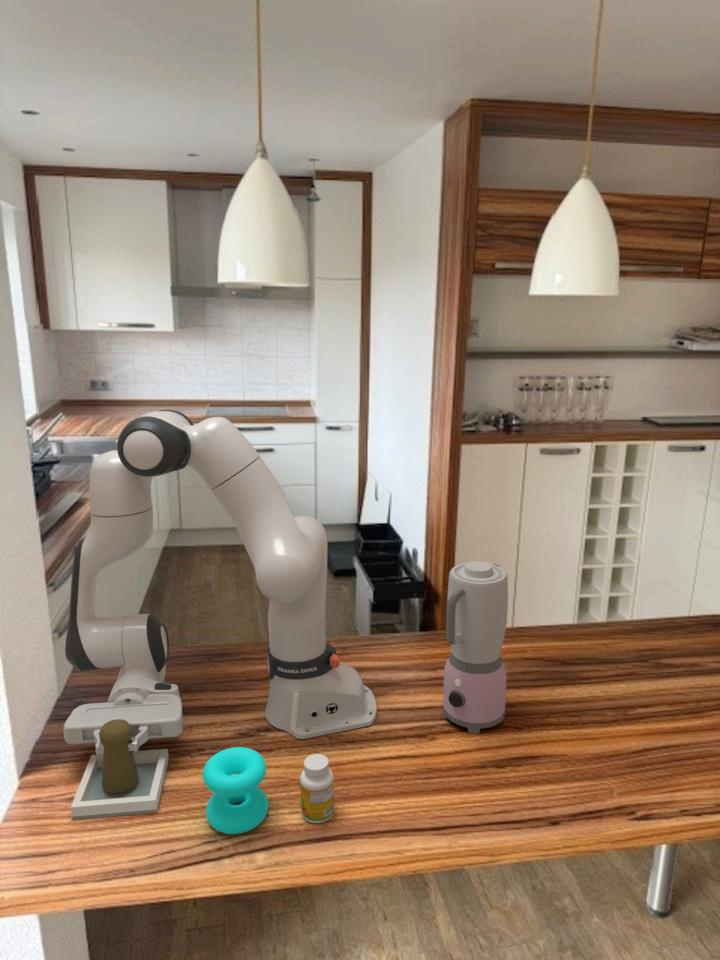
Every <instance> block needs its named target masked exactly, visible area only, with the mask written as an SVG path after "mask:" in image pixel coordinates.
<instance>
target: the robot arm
mask: <svg viewBox="0 0 720 960" xmlns="http://www.w3.org/2000/svg"><path fill="white" fill-rule="evenodd" d="M116 445H117V446H116V450H109V451H106V452H103V453H101V454H100V455H98V456H97V457H96V458H94V460H93V462H92V463H91V465H90V473H89V484H88V485H89V488H88V491H89V492H88V493H89V494H88V495H89V511H90V524H89V525H90V526H89V529H88V531H87V534H86V536H85V537H83V538H81V539H80V540H78V541H77V544H76V548H75V550H74V555H73V562H72V572H71V583H70V598H69V599H70V600H69V610H68V611H69V612H68V623H67V624H68V625H67V630H66V636H65V642H64V653H65V659H66V661H67V662H68V663H69V664H70V665H72V667H74V668H75V669H77V670H79V671H80V672H83V673H85V672H90V671H96V670H101V669H103V668H104V669H106V668H118V667H120V670H119V672H118V674H117V679H116V681H115V683H114V684H113V687H112V688H111V691H110V694H109V696H108V699H107V702H93V703H84V704H81V705H79V706H77V707H76V708H74V709H73V710H72V711H71V714H70V715H69V716H68V718H67V719H66V721H65V722H64V724H63V738H64V740H65V742H66V743H67V744H68V745H78V744H79V745H81V744H90V743H92V744H93V743H94V745H95V754H104V745H103V744H102V743H101V741H100V737H99V733H100V730H101V728H102V726H103V725H104V724H105V723H107V722H109V721H111V720H115V719H122V720H126V721H127V722H128V723H129V724H130V725H131V728H132V735H131V738H130V740H129V742H128V748H129V749H128V751H129V752H137V751H139V749H140V747H141V746H142V745H144V744H145V743H146V742H147V741H148V740H149V739H161V738H177V737H178V736H180V735H181V734H183V732H184V731H183V730H184V715H183V713H184V712H183V706H182V705H183V704H182V700H181V696H180V695H181V694H180V689H179V686H178V685H177V684H174V683H167V682H165V677H166V671H167V669H166V667H167V666H166V663H167V662H168V659H169V650H170V649H169V648H170V645H169V644H170V642H169V634H168V631H167V628H166V625H165V624H164V623H163V622H162V620H160V619H159V617H157V616H156V615H155V614H153V613H137V614H136V613H135V614H127V615H116V616H113V615H112V616H98V615H97V614H96V613H95V604H96V602H95V601H96V591H97V590H96V588H97V577H98V574H99V573H100V572H101V571H102V570H104V569H105V568H107V567H109V566H111V565H113V564H116V563H118V562H120V561H123V560H124V559H128V558H130V557H131V556H133V555H134V554H136V553H137V552H138V551H140V550H141V549H143V548H144V547H145V546H146V545H147V543H148V542H149V540H150V539H151V537H152V535H153V532H154V511H153V510H154V509H153V501H152V481H153V478H154V477H160V476H163V475H166V474H169V473H173V472H176V471H181V470H183V469H185V468H186V467H187V468H188V467H189V468H191V469H193V470H194V471H195V472H196V473H197V474H198V475H199V476H200V477H201V479H202V481H204V483H205V485H206V486H207V487H208V489H209V490H210V491H211V493H212V494H213V496H214V497H215V498H216V499H217V501H218V503H219V504H220V505H221V506H222V508H223V509H224V511H225V513H226V514H227V516H228V517H229V518H230V520H231V522H232V523H233V525H234V527H235V528H236V530H237V532H238V534H239V536H240V539H241V541H242V543H243V545H244V548H245V550H246V552H247V554H248V556H249V559H250V562H251V563H252V565H253V569H254V573H255V578H256V583H257V587H258V589H259V590H260V591H261V594H263V595H264V596H265V597H266V598H267V599H269V603H268V610H267V617H268V618H267V621H268V640H269V647H268V649H267V655H266V656H267V659H266V660H267V673H268V675H269V676H268V677H269V689H268V690H269V691H268V697H267V702H266V707H265V710H264V716H265V719H266V720H267V722H268V723H269V724H270V725H271V726H272V727H275V728H277V729H279V730H282V731H284V732H287V733H289V734H290V735H292V736H293V737H294V738H296V739H299V740H305V739H310V738H315V737H316V738H317V737H319V736H325V735H330V734H336V733H339V732H345V731H350V730H354V729H359V728H365V727H370V726H371V725H373V724H374V722H375V721H376V719H377V715H378V708H377V701H376V698H375V695H374V694H373V691H372V690H371V689H370V688H369V687H368V686H367V685H364V682H363V679H362V677H361V675H360V674H359V672H358V671H357V670H356V668H353V667H352V666H350V665H348V664H346V663H344V662H343V661H341V659H340V656H339V655H337V648H336V647H335V644H334V642H333V641H332V640H331V641H330V643H328V642H327V639H326V636H327V635H326V599H327V597H326V596H327V583H328V582H327V580H328V579H327V578H328V535H327V532H326V529H325V527H324V525H323V524H322V523H321V522H320V521H319V520H318V519H317V518H315V517H313V516H310V515H305V514H304V515H303V514H302V515H301V514H299V515H295V516H294V515H293V513H292V511H291V508H290V506H289V504H288V501H287V498H286V493H285V491H284V490H285V489H283V487H282V486H281V484H280V483H279V481H278V480H277V478H276V477H275V475H274V474H273V473H272V471H271V470H270V468H269V467H268V465H267V464H266V463H265V461H264V459H263V458H262V457H261V456H260V454H259V453H258V451H257V450H256V449H255V447H254V446H253V445H252V443H251V442H250V441H249V440H248V438H247V437H246V436H245V435H244V434H243V433H242V432H241V431H240V430H239V429H238V428H237V427H236V426H235V424H233V423H232V422H231V421H230V420H229V419H227V418H225V417H223V416H213V417H208V418H205V419H203V420H201V421H200V422H198V423H196V424H194V423H193V421H192V420H191V418H189V417H188V416H187V415H186V414H184V413H183V412H180V411H178V410H174V409H160V410H157V411H150V412H147V413H144V414H142V415H140V416H138V417H137V418H134V419H133V420H130V421H129V422H128V423H127V424H126V425H125V426H124V427H123V428H122V430H121V432H120V434H119V435H118V438H117V444H116Z"/></svg>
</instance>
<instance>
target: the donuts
mask: <svg viewBox="0 0 720 960" xmlns="http://www.w3.org/2000/svg"><path fill="white" fill-rule="evenodd" d="M266 774H267V763H266V761H265V759H264V757H263V756H262V755H261V753H259V752H258V751H256V750H254V749H252V748H248V747H244V746H238V747H237V746H235V747H230V748H225V749H223V750H219V751H218V752H217V753H215V754H214V755H211V757H210V758H209V759H208V760H207V761H206V763H205V765H204V767H203V771H202V778H203V782H204V784H205V786H206V788H207V789H208V790H210V792H212V793H213V794H212V796H211V797H210V798H209V800H208V801H207V805H206V810H205V812H206V814H205V816H206V819H207V822H208V824H209V825H210V826H211V827H212V828H213V829H214V830H216V831H217V832H219V833H223V834H226V835H227V834H228V835H239V834H242V833H243V834H244V833H247V832H249V831H251V830H253V829H255V828H256V827H258V826H259V825H260V824H261V823H263V820H265V818H266V816H267V813H268V811H269V799H268V797H267V795H266V793H265V792H264V791H263V789H261V788H260V787H259V786H260V785H261V784H262V782H263V780H264V779H265V776H266Z"/></svg>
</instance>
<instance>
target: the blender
mask: <svg viewBox="0 0 720 960" xmlns="http://www.w3.org/2000/svg"><path fill="white" fill-rule="evenodd" d="M448 573H449V574H448V586H447V599H446V600H447V603H446V609H445V610H446V613H445V614H446V616H445V617H446V618H445V619H446V620H445V621H446V622H445V636H446V638H445V639H446V642H447V643H448V644H449V645H450V655H449V656H448V658H447V660H446V662H445V666H444V669H443V703H442V705H443V706H442V710H443V711H442V712H443V713H442V714H443V717H444V719H445V720H449V721H450V722H452V723H454V724H456V725H457V726H458V725H459V726H461V727H463V728H467V733H469V734H477V735H478V734H480V730H481V729H488V728H492V727H495V726H497V725H499V724H500V723H502V721H504V719H505V717H506V695H507V670H506V667H505V664H504V661H503V659H502V647H503V644H504V639H505V635H506V628H507V623H508V610H509V609H508V607H509V606H508V605H509V589H508V588H509V585H508V583H509V579H508V578H509V577H508V573H507V572H506V571H505V569H503V568H502V567H501V566H500V564H495V563H494V564H491V563H489V562H486V561H482V560H472V561H468V562H464V563H460V564H457V565H455V566H454V567H452V568H451V569H450V571H449V572H448Z"/></svg>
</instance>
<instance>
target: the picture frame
mask: <svg viewBox="0 0 720 960" xmlns="http://www.w3.org/2000/svg"><path fill="white" fill-rule="evenodd" d="M133 756H134V760H135V764H136V768H137V772H138V776H139V780H138V782H137V783H136V784H135V786H133V787H132V788H130V789H128V790H126V791H123V792H119V793H111V792H107V791H105V790H104V789H103V788H102V773H103V754H96V753H95V754H91V755H90V757H89V760H88V763H87V765H86V768H85V770H84V773H83V775H82V778H81V781H80V783H79V785H78V788H77V790H76V793H75V795H74V798H73V801H72V804H71V805H70V811H71V820H73V821H74V820H84V819H85V820H86V819H97V818H99V819H100V818H107V817H108V818H110V817H119V816H120V817H121V816H131V815H143V814H144V815H145V814H154V813H158V810H159V804H160V800H161V796H162V793H163V792H162V791H163V787H164V784H165V779H166V775H167V771H168V765H169V761H170V756H169V749H168V748H162V749H161V748H160V749H149V750H138V751H137V752H133Z"/></svg>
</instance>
